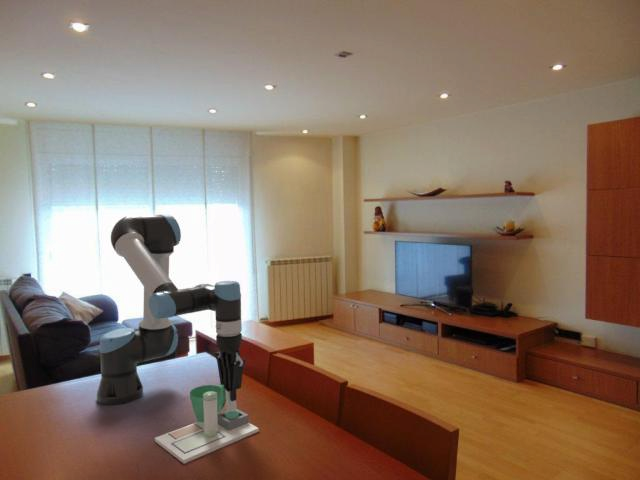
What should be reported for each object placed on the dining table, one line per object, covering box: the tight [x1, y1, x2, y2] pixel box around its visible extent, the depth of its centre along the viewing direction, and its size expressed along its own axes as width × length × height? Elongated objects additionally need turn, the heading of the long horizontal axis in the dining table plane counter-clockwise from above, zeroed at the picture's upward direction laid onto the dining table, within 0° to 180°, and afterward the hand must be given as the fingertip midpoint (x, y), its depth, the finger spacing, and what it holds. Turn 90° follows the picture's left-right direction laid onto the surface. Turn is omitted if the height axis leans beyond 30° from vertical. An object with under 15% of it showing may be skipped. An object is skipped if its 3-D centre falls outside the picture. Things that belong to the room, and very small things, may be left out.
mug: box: [189, 383, 226, 422], centre depth 146 cm, size 15×10×10 cm
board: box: [154, 408, 260, 464], centre depth 134 cm, size 17×24×4 cm
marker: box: [203, 391, 218, 437], centre depth 133 cm, size 4×4×12 cm
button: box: [224, 409, 239, 420], centre depth 140 cm, size 4×4×3 cm
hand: (231, 409), depth 140 cm, fingers closed
